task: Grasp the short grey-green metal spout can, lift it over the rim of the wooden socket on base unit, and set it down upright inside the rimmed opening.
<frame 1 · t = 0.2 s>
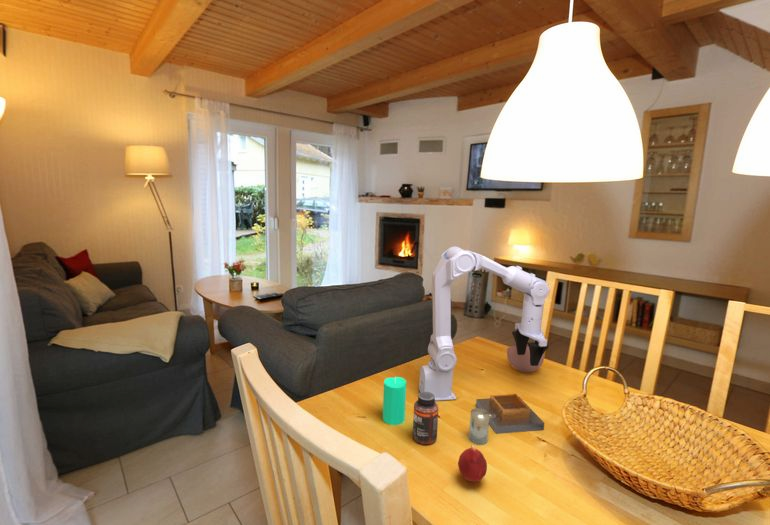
hand: (527, 359, 117), 10 cm above the table, tool pointing down, fingers open, 7 cm apart
wooden socket on base: (508, 417, 104), on the table
spout can: (478, 439, 94), on the table
supplement bottle: (424, 438, 94), on the table
onion: (471, 481, 81), on the table
mortar and pestle: (523, 371, 133), on the table
candle: (393, 419, 102), on the table
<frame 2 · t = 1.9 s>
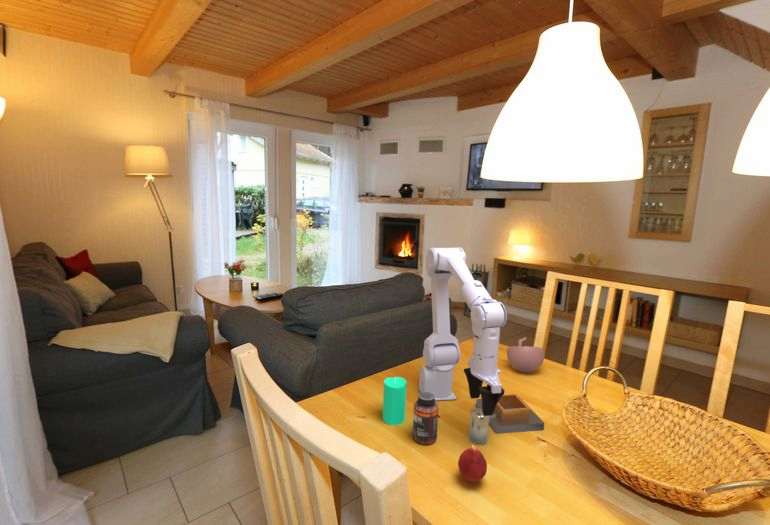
hand: (480, 405, 93), 9 cm above the table, tool pointing down, fingers open, 7 cm apart
nothing on the table moved.
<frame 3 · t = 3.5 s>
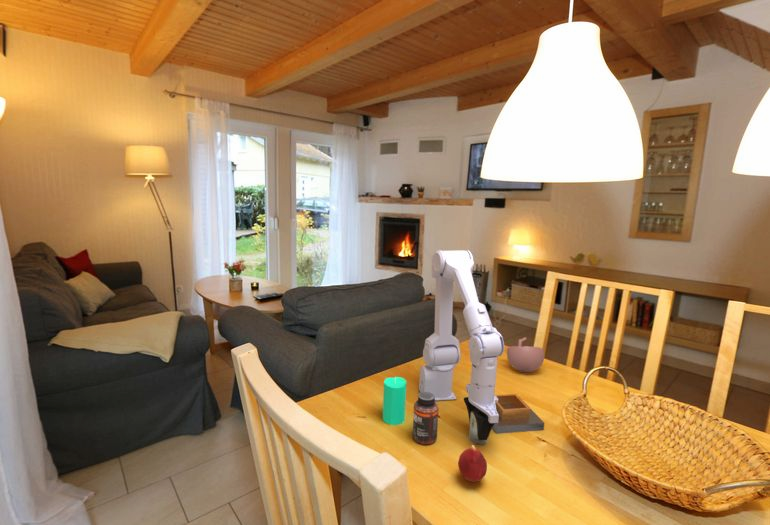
hand: (478, 432, 94), 2 cm above the table, tool pointing down, fingers closed on spout can, 4 cm apart
spout can: (478, 439, 94), on the table, touching gripper
everything else where it was.
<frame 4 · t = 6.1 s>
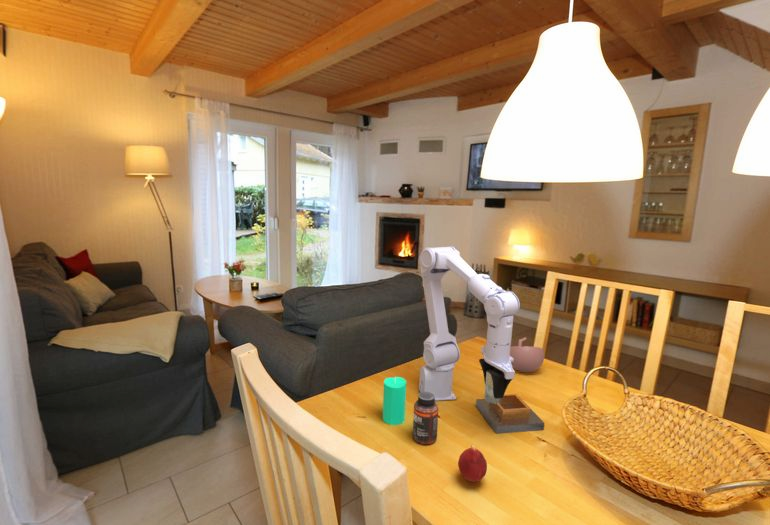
hand: (493, 392, 96), 10 cm above the table, tool pointing down, fingers closed on spout can, 4 cm apart
spout can: (493, 398, 97), point 9 cm above the table, touching gripper
everything else where it was.
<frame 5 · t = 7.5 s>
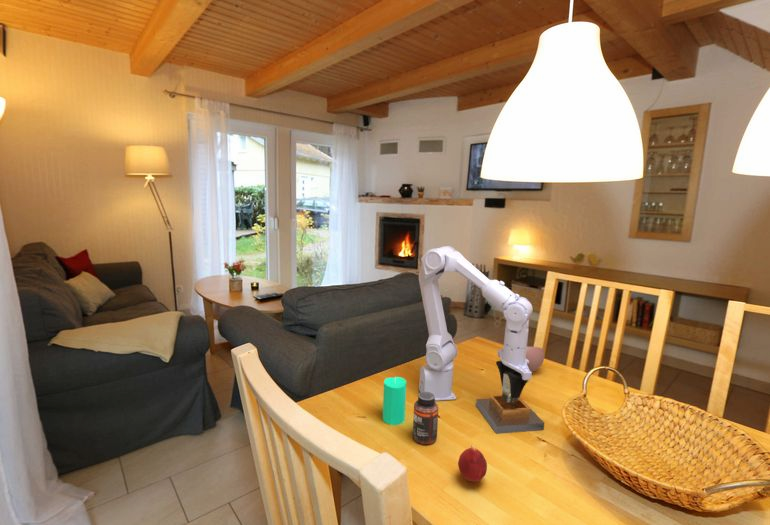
hand: (510, 392, 103), 7 cm above the table, tool pointing down, fingers closed on spout can, 4 cm apart
spout can: (510, 398, 103), point 6 cm above the table, touching gripper
everything else where it was.
when the fingers open (5 cm above the table, at t = 8.7 s): spout can drops 2 cm, resting on wooden socket on base.
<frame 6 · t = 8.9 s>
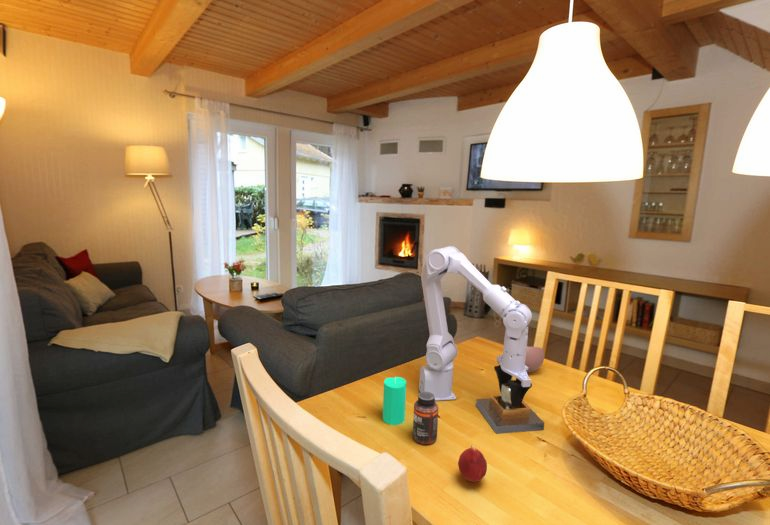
hand: (509, 398, 103), 5 cm above the table, tool pointing down, fingers open, 6 cm apart
spout can: (508, 410, 104), point 2 cm above the table, touching wooden socket on base
everything else where it was.
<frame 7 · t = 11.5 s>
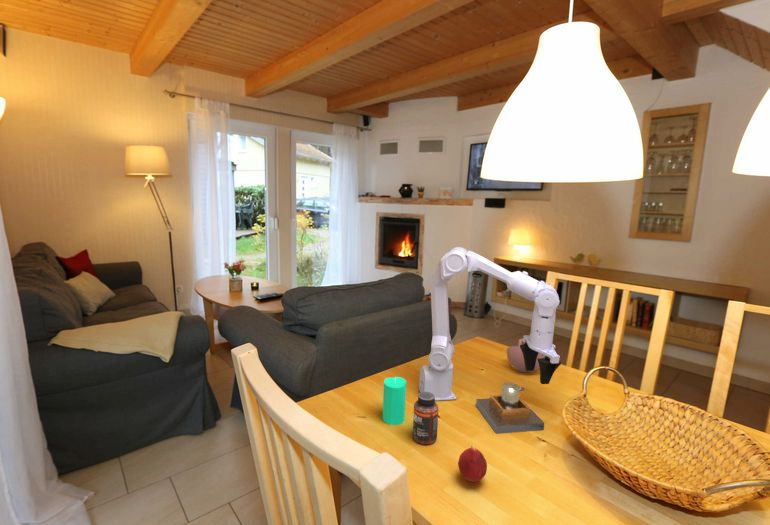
hand: (536, 376, 106), 10 cm above the table, tool pointing down, fingers open, 7 cm apart
nothing on the table moved.
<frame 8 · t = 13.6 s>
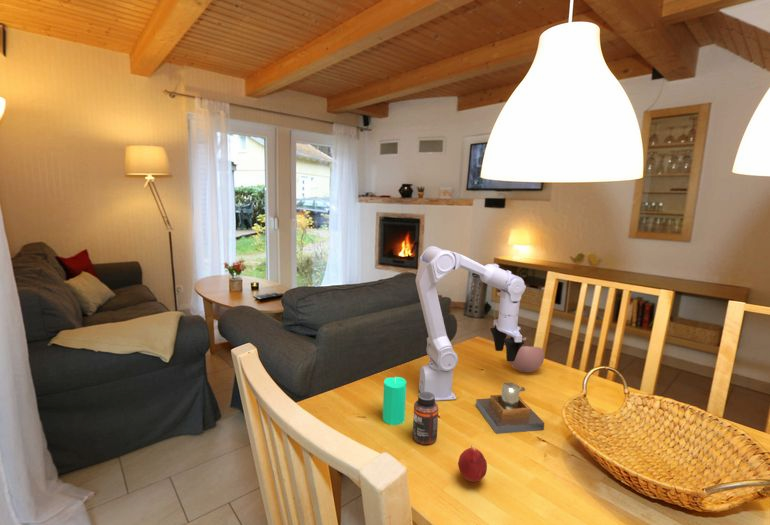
hand: (504, 355, 119), 10 cm above the table, tool pointing down, fingers open, 7 cm apart
nothing on the table moved.
at the end: spout can 0.0 cm off-centre on the wooden socket on base, point 2.0 cm above the wooden socket on base's base; spout can tilted 0°; the gripper is holding nothing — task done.
